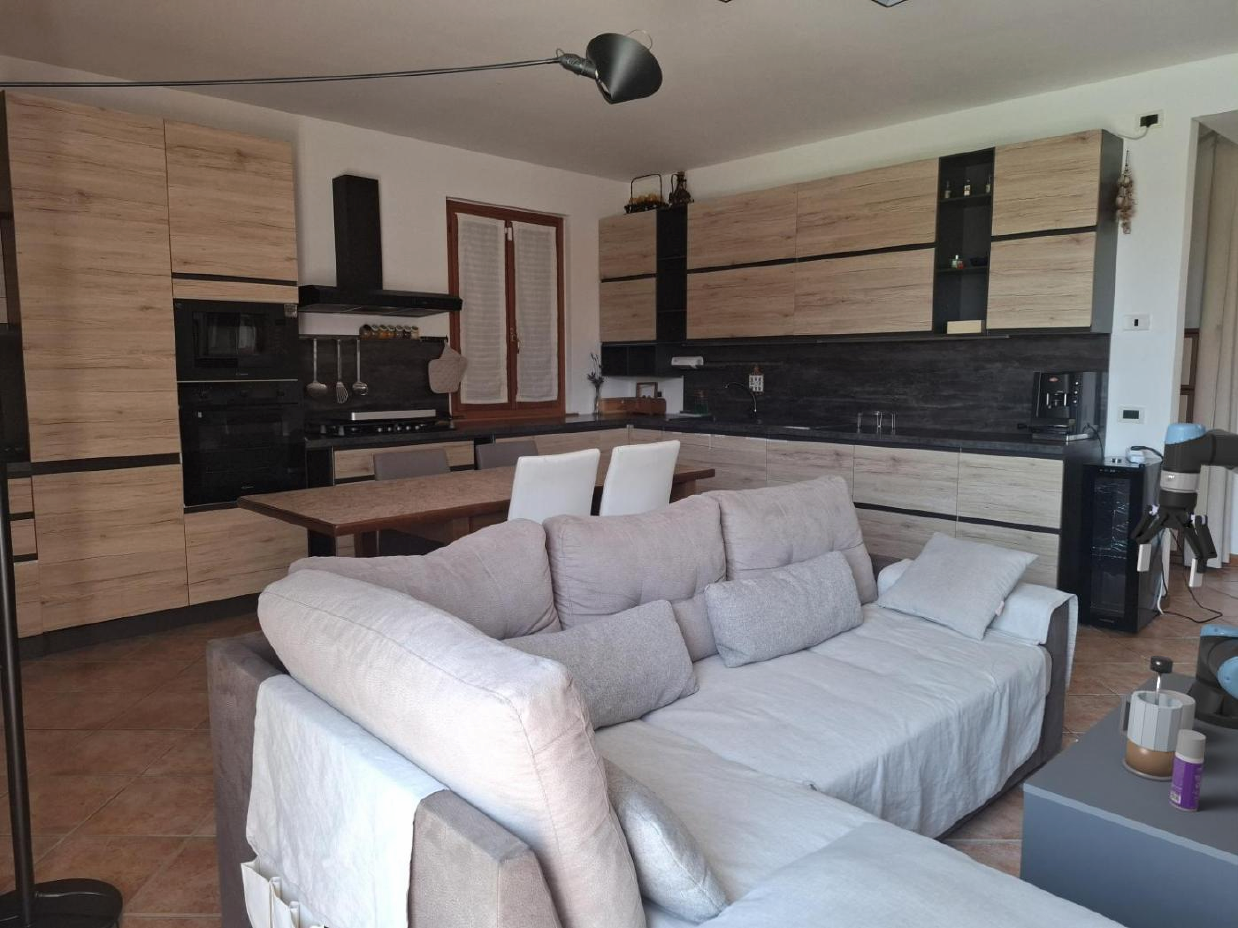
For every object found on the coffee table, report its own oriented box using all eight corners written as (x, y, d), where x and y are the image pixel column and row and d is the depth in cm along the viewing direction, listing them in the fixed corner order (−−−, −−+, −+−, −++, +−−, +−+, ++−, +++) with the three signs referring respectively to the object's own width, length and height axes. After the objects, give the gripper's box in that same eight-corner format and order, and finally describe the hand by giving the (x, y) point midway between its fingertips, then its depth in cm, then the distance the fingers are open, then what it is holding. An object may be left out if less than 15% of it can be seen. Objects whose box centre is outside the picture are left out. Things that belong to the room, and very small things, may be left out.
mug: (1184, 754, 188) (1189, 707, 186) (1141, 740, 194) (1146, 695, 193) (1199, 738, 196) (1205, 694, 194) (1158, 725, 202) (1163, 682, 201)
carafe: (1136, 750, 189) (1144, 683, 187) (1188, 778, 177) (1197, 706, 175) (1101, 755, 186) (1109, 687, 184) (1151, 784, 174) (1160, 711, 172)
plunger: (1151, 729, 183) (1160, 652, 181) (1176, 742, 177) (1185, 663, 175) (1129, 732, 181) (1138, 655, 179) (1154, 745, 176) (1163, 665, 173)
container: (1198, 814, 163) (1207, 742, 161) (1169, 806, 166) (1178, 735, 163) (1196, 803, 167) (1205, 732, 165) (1168, 796, 170) (1177, 726, 167)
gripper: (1120, 481, 205) (1111, 565, 208) (1218, 499, 181) (1206, 594, 184) (1143, 480, 207) (1134, 563, 210) (1244, 498, 183) (1231, 592, 186)
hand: (1168, 578), depth 197 cm, fingers open, 13 cm apart
